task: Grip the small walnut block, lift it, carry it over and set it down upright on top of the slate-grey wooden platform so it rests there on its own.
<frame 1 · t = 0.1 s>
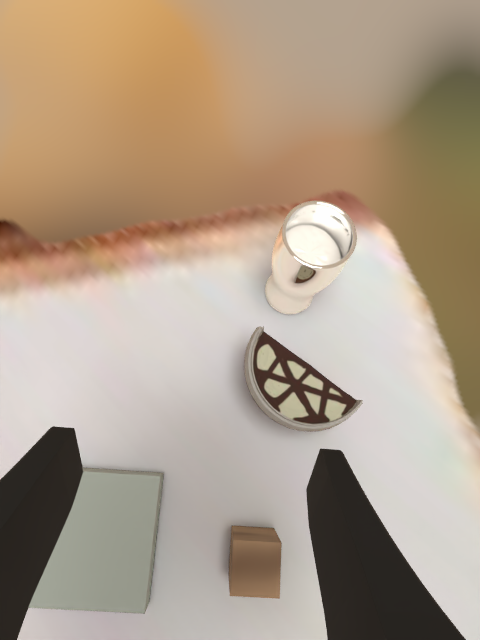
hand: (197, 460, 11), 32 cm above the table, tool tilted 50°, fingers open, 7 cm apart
beer glass: (288, 292, 47), on the table
walnut block: (251, 550, 39), on the table
grey platform: (100, 529, 39), on the table
food container: (276, 396, 44), on the table
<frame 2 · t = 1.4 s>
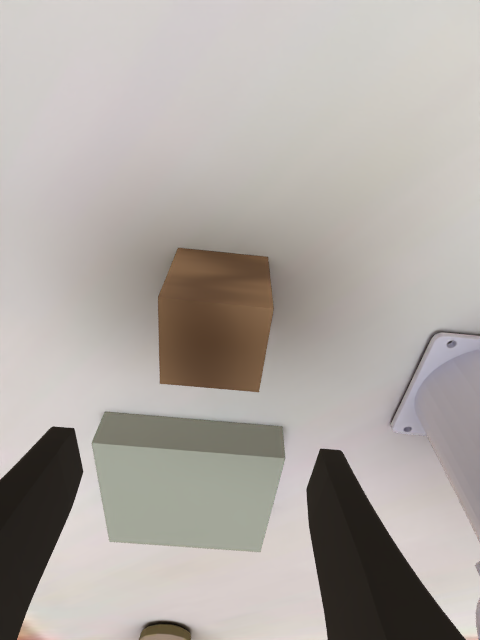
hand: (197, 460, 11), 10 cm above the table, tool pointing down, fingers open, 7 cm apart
bottle: (167, 628, 46), on the table
walnut block: (220, 291, 20), on the table
grey platform: (192, 467, 29), on the table
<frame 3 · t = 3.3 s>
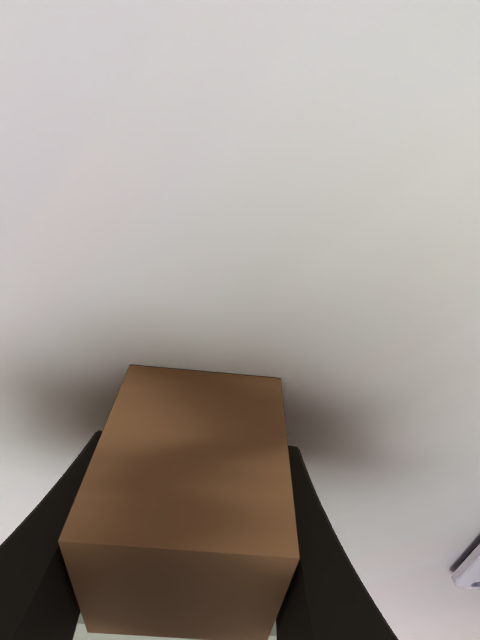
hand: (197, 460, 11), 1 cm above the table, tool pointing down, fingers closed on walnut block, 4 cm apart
walnut block: (202, 423, 12), on the table, touching gripper
grey platform: (172, 603, 22), on the table
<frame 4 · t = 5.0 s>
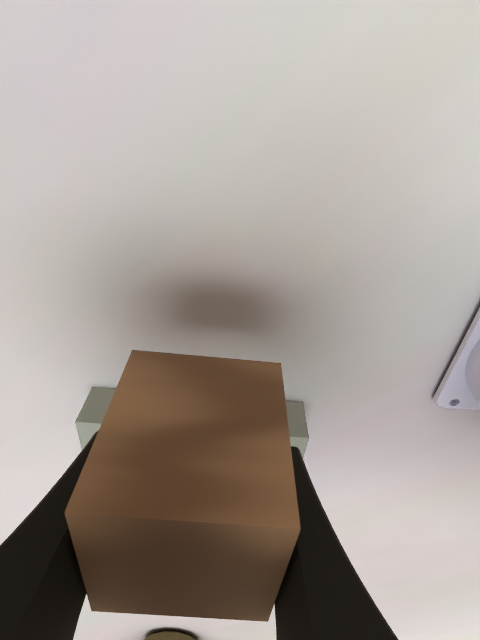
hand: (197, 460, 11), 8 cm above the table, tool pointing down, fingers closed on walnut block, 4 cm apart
bottle: (172, 635, 42), on the table
walnut block: (203, 409, 13), point 7 cm above the table, touching gripper
grey platform: (197, 454, 25), on the table
when the fingers open (5 cm above the table, at t = 7.1 s): walnut block stays where it is, resting on grey platform.
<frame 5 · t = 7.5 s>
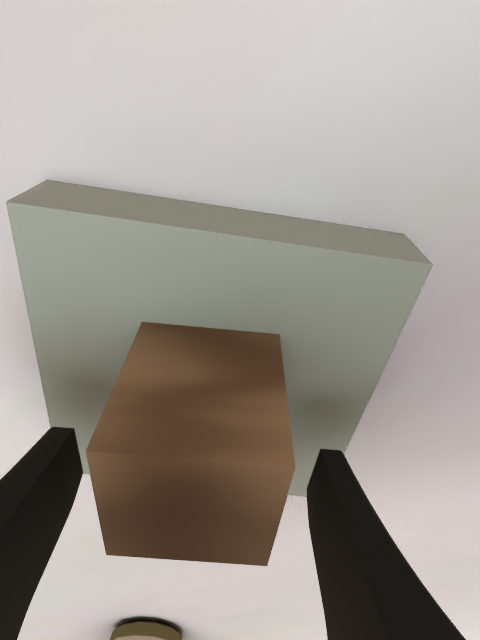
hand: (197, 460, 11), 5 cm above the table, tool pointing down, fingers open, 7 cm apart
bottle: (149, 627, 33), on the table
walnut block: (207, 379, 13), point 2 cm above the table, touching grey platform
grey platform: (213, 340, 16), on the table, touching walnut block
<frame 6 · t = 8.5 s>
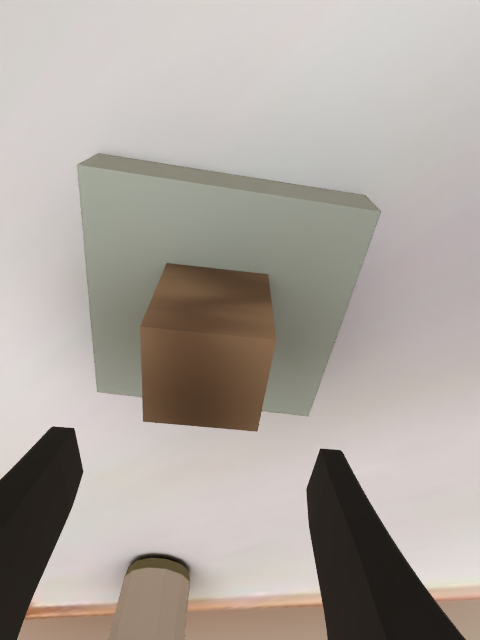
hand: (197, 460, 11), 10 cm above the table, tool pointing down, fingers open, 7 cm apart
bottle: (160, 565, 37), on the table
walnut block: (213, 311, 18), point 2 cm above the table, touching grey platform
grey platform: (220, 286, 20), on the table, touching walnut block
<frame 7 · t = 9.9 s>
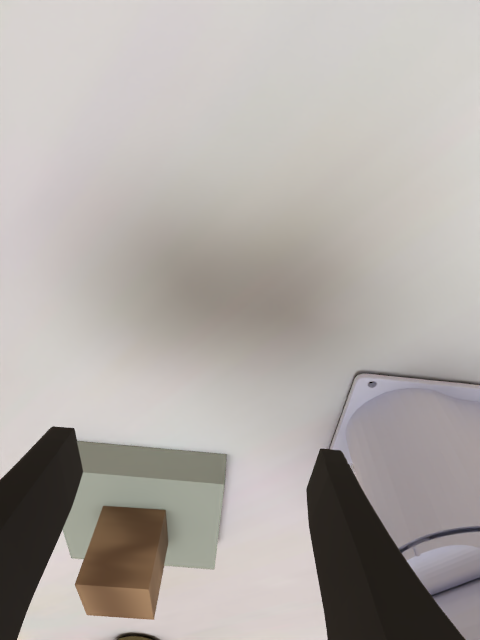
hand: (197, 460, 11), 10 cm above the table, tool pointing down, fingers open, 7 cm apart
bottle: (139, 639, 48), on the table
walnut block: (137, 524, 28), point 2 cm above the table
grey platform: (148, 488, 31), on the table
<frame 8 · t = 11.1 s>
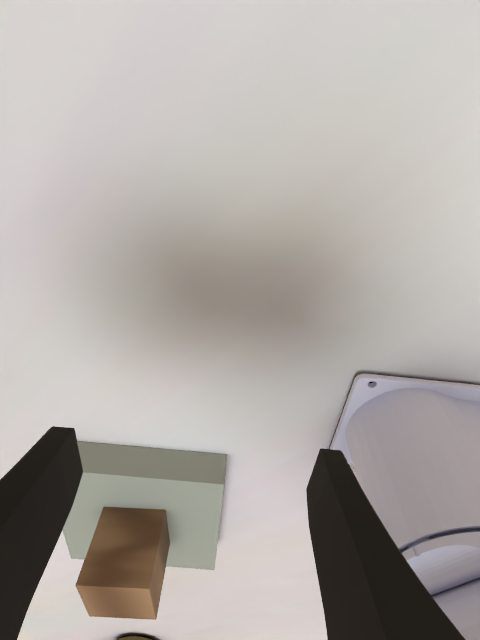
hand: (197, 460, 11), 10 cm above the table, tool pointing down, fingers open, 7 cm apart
bottle: (139, 639, 48), on the table
walnut block: (138, 525, 28), point 2 cm above the table
grey platform: (148, 489, 31), on the table
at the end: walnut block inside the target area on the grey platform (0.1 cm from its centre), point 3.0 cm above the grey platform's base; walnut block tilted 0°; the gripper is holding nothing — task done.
